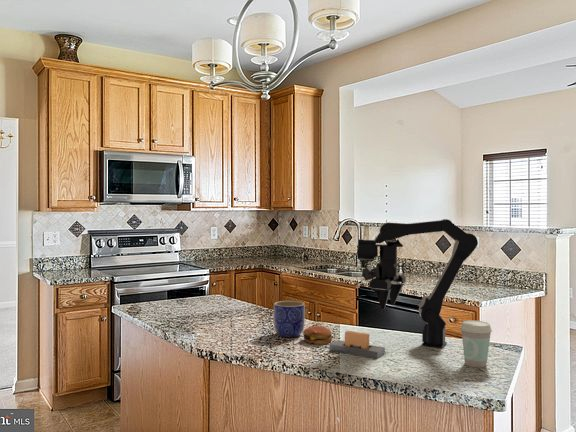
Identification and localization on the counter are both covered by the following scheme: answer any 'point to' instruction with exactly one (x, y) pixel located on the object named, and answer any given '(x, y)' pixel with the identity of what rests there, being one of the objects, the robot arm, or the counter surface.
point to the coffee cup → (475, 342)
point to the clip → (357, 339)
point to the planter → (289, 318)
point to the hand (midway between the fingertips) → (387, 306)
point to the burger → (317, 335)
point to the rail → (357, 349)
